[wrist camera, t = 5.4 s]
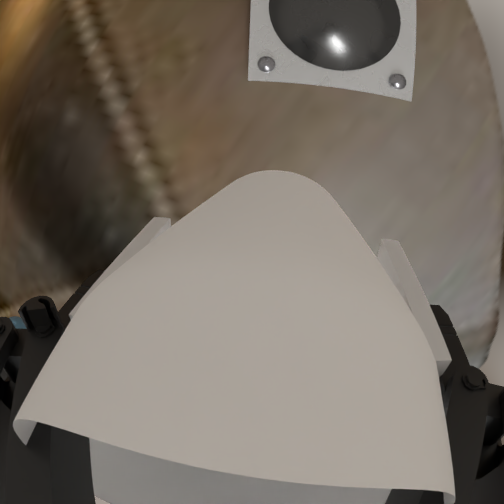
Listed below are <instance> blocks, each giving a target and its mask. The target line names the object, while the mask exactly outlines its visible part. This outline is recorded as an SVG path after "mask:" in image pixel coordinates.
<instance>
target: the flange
mask: <svg viewBox="0 0 504 504" xmlns="http://www.w3.org/2000/svg"><path fill="white" fill-rule="evenodd" d="M415 49H416V0H251V12H250V38H249V66H248V81H271V82H287V83H300V84H310V85H320V86H328V87H336V88H343V89H350V90H356V91H362V92H368V93H373V94H379V95H384V96H389V97H393V98H398V99H403V100H407V101H412V91H413V80H414V67H415Z"/></svg>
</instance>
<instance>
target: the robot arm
mask: <svg viewBox="0 0 504 504" xmlns="http://www.w3.org/2000/svg"><path fill="white" fill-rule="evenodd" d="M170 227H171V222H170V218H162V217H154V218H153V219H152V220H151V221H150V222H149V223H148V224H147V225H146V226H145V227H144V228H143V229H142V230H141V232H140V233H139V234H138V235H137V236H136V237H135V238H134V239H133V240H132V241H131V242H130V243H129V244H128V246H127V247H126V248H125V249H124V250H123V251H122V252H121V253H120V254H119V256H118V257H117V258H116V259H115V260H114V261H113V262H112V263H111V265H110V266H109V267H108V268H107V269H106V270H105V271H104V270H98V271H97V272H95V273H94V274H92V275H90V276H89V277H88V278H87V279H86V280H85V281H84V282H83V284H82V285H81V287H79V288H78V289H77V290H76V292H75V294H73V295H72V296H71V297H70V299H69V300H68V301H67V302H66V303H65V304H64V306H63V307H62V308H61V309H60V310H59V312H58V311H57V309H56V306H55V304H54V302H53V300H52V299H51V298H50V297H47V296H37V297H34V298H31V299H30V300H28V301H26V302H25V303H24V304H23V305H22V306H21V307H20V309H19V311H18V312H19V314H20V316H21V318H20V317H16V316H14V317H10V318H7V317H0V504H95V497H94V489H93V480H92V470H91V458H90V442H89V437H86V436H82V435H79V434H76V433H73V432H70V431H67V430H64V429H60V428H57V427H54V426H51V425H48V424H44V423H40V422H37V424H36V426H35V428H34V430H33V432H32V434H31V436H30V438H29V440H28V442H27V444H26V445H25V444H24V443H23V442H22V441H21V439H20V438H19V437H18V435H17V434H16V432H15V430H14V428H13V421H14V419H15V417H16V415H17V414H18V412H19V410H20V408H21V406H22V404H23V402H24V400H25V398H26V397H27V395H28V393H29V391H30V389H31V387H32V386H33V384H34V382H35V380H36V379H37V377H38V375H39V373H40V372H41V370H42V368H43V366H44V365H45V363H46V361H47V360H48V358H49V356H50V354H51V353H52V351H53V349H54V348H55V346H56V345H57V343H58V341H59V340H60V338H61V336H62V335H63V333H64V331H65V329H66V328H67V326H68V324H69V323H70V321H71V319H72V318H73V316H74V314H75V313H76V311H77V310H78V308H79V307H80V305H81V304H82V303H83V301H84V300H85V299H86V298H87V297H88V295H89V294H90V293H91V292H92V291H93V290H94V289H95V288H96V287H97V286H98V285H99V284H100V283H101V282H102V281H103V280H105V279H106V278H107V277H108V276H109V275H111V274H112V273H113V272H114V271H115V270H117V269H118V268H119V267H120V266H122V265H123V264H124V263H125V262H126V261H128V260H129V259H130V258H131V257H133V256H134V255H135V254H136V253H138V252H139V251H140V250H141V249H143V248H144V247H145V246H146V245H148V244H149V243H150V242H152V241H153V240H154V239H155V238H157V237H158V236H159V235H161V234H162V233H163V232H165V231H166V230H167V229H169V228H170ZM377 259H378V260H379V262H380V263H381V265H382V266H383V268H384V269H385V271H386V272H387V274H388V275H389V277H390V278H391V280H392V282H393V283H394V285H395V286H396V288H397V289H398V291H399V292H400V294H401V296H402V297H403V299H404V300H405V302H406V304H407V305H408V307H409V309H410V310H411V312H412V314H413V315H414V317H415V319H416V320H417V322H418V324H419V325H420V327H421V329H422V331H423V332H424V334H425V337H426V339H427V341H428V343H429V346H430V348H431V350H432V353H433V355H434V358H435V361H436V364H437V370H438V376H439V382H440V388H441V395H442V401H443V407H444V412H445V418H446V424H447V430H448V437H449V444H450V451H451V458H452V466H453V475H454V485H455V498H456V499H455V503H454V504H504V445H502V443H501V438H502V437H503V436H504V387H502V386H498V385H494V384H490V383H488V380H487V378H486V376H485V374H484V373H483V372H481V370H479V369H478V368H476V367H474V366H470V365H469V362H468V359H467V357H466V355H465V352H464V350H463V347H462V345H461V343H460V340H459V338H458V336H456V334H457V333H456V331H455V329H454V327H453V324H452V322H451V320H450V318H449V316H448V314H447V313H446V312H445V311H444V310H443V309H442V308H441V307H440V306H439V305H429V303H428V300H427V298H426V296H425V294H424V292H423V289H422V287H421V285H420V283H419V281H418V279H417V277H416V275H415V273H414V271H413V269H412V267H411V265H410V263H409V261H408V259H407V257H406V255H405V253H404V251H403V249H402V247H401V245H400V243H399V241H398V240H390V239H381V243H380V247H379V251H378V255H377ZM385 504H444V494H443V492H441V491H432V490H415V489H391V492H390V494H389V496H388V498H387V500H386V502H385Z"/></svg>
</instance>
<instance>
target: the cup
mask: <svg viewBox="0 0 504 504" xmlns="http://www.w3.org/2000/svg"><path fill="white" fill-rule="evenodd" d="M37 422H40V423H44V424H48V425H51V426H54V427H57V428H60V429H64V430H67V431H70V432H73V433H76V434H79V435H82V436H86V437H89V442H90V458H91V470H92V480H93V489H94V496H96V497H98V498H100V499H102V500H104V501H106V502H108V503H110V504H385V502H386V500H387V498H388V496H389V494H390V492H391V489H415V490H432V491H441V492H443V494H444V504H454V503H455V499H456V498H455V485H454V475H453V466H452V458H451V451H450V444H449V437H448V430H447V424H446V418H445V412H444V407H443V401H442V395H441V388H440V382H439V376H438V370H437V364H436V361H435V358H434V355H433V353H432V350H431V348H430V346H429V343H428V341H427V339H426V337H425V334H424V332H423V331H422V329H421V327H420V325H419V324H418V322H417V320H416V319H415V317H414V315H413V314H412V312H411V310H410V309H409V307H408V305H407V304H406V302H405V300H404V299H403V297H402V296H401V294H400V292H399V291H398V289H397V288H396V286H395V285H394V283H393V282H392V280H391V278H390V277H389V275H388V274H387V272H386V271H385V269H384V268H383V266H382V265H381V263H380V262H379V260H378V259H377V258H376V256H375V255H374V253H373V252H372V250H371V249H370V247H369V246H368V244H367V243H366V242H365V240H364V239H363V237H362V236H361V235H360V233H359V232H358V230H357V229H356V228H355V226H354V225H353V224H352V222H351V221H350V219H349V218H348V217H347V215H346V214H345V213H344V211H343V210H342V209H341V207H340V206H339V205H338V203H337V202H336V201H335V199H334V198H333V197H332V196H331V195H330V194H329V193H328V192H327V191H326V190H325V189H324V188H323V187H322V186H320V185H319V184H317V183H316V182H314V181H313V180H311V179H309V178H307V177H304V176H302V175H299V174H296V173H292V172H287V171H280V170H268V171H260V172H255V173H251V174H248V175H245V176H243V177H241V178H239V179H237V180H235V181H234V182H232V183H231V184H229V185H228V186H226V187H225V188H223V189H222V190H221V191H219V192H218V193H216V194H215V195H214V196H212V197H211V198H209V199H208V200H207V201H205V202H204V203H202V204H201V205H200V206H198V207H197V208H195V209H194V210H193V211H191V212H190V213H189V214H187V215H186V216H185V217H183V218H182V219H181V220H179V221H178V222H177V223H175V224H174V225H173V226H171V227H170V228H169V229H167V230H166V231H165V232H163V233H162V234H161V235H159V236H158V237H157V238H155V239H154V240H153V241H152V242H150V243H149V244H148V245H146V246H145V247H144V248H143V249H141V250H140V251H139V252H138V253H136V254H135V255H134V256H133V257H131V258H130V259H129V260H128V261H126V262H125V263H124V264H123V265H122V266H120V267H119V268H118V269H117V270H115V271H114V272H113V273H112V274H111V275H109V276H108V277H107V278H106V279H105V280H103V281H102V282H101V283H100V284H99V285H98V286H97V287H96V288H95V289H94V290H93V291H92V292H91V293H90V294H89V295H88V297H87V298H86V299H85V300H84V301H83V303H82V304H81V305H80V307H79V308H78V310H77V311H76V313H75V314H74V316H73V318H72V319H71V321H70V323H69V324H68V326H67V328H66V329H65V331H64V333H63V335H62V336H61V338H60V340H59V341H58V343H57V345H56V346H55V348H54V349H53V351H52V353H51V354H50V356H49V358H48V360H47V361H46V363H45V365H44V366H43V368H42V370H41V372H40V373H39V375H38V377H37V379H36V380H35V382H34V384H33V386H32V387H31V389H30V391H29V393H28V395H27V397H26V398H25V400H24V402H23V404H22V406H21V408H20V410H19V412H18V414H17V415H16V417H15V419H14V421H13V428H14V430H15V432H16V434H17V435H18V437H19V438H20V439H21V441H22V442H23V443H24V444H25V445H26V444H27V442H28V440H29V438H30V436H31V434H32V432H33V430H34V428H35V426H36V424H37Z"/></svg>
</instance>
